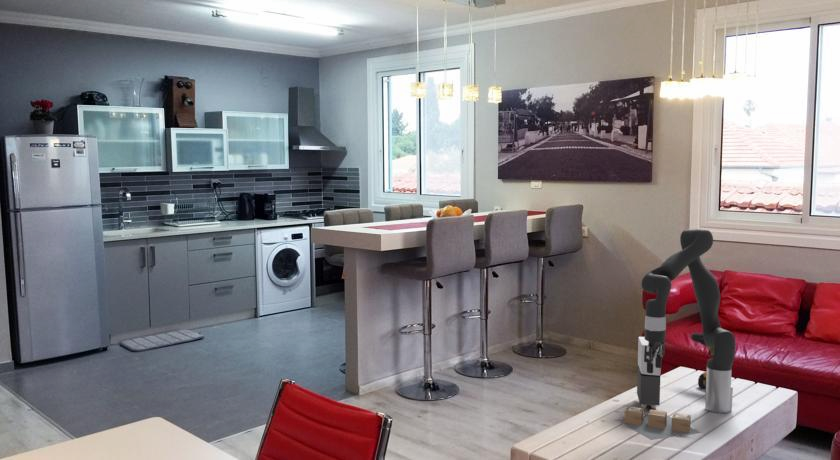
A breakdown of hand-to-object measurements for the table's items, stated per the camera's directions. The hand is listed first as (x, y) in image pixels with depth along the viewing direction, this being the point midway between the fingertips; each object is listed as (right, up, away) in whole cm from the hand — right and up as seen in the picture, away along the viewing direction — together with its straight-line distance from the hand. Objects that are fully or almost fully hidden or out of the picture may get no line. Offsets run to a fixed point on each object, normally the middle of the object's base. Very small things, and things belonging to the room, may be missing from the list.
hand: (654, 370), depth 273 cm
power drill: (+40, -18, +52) cm, 68 cm away
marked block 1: (-6, -21, +5) cm, 22 cm away
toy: (+6, -20, +26) cm, 33 cm away
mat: (+2, -22, +2) cm, 22 cm away
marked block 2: (+9, -22, -2) cm, 24 cm away
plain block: (+2, -21, +2) cm, 21 cm away
